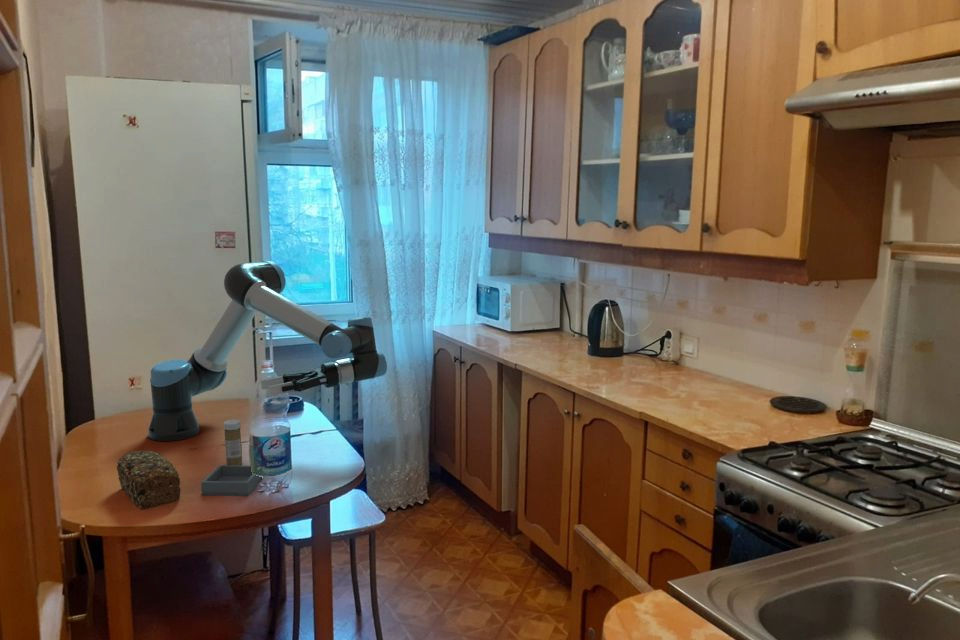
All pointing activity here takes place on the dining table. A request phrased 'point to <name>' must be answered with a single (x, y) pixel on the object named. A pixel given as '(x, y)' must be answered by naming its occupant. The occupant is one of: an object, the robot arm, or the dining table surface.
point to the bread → (148, 479)
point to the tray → (230, 481)
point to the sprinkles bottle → (233, 442)
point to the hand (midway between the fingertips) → (265, 388)
